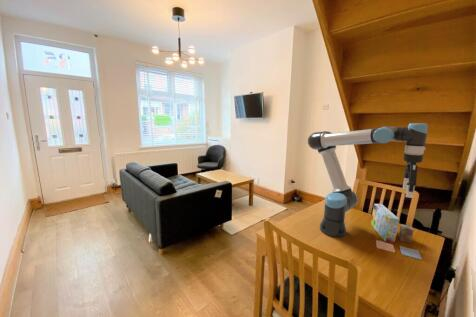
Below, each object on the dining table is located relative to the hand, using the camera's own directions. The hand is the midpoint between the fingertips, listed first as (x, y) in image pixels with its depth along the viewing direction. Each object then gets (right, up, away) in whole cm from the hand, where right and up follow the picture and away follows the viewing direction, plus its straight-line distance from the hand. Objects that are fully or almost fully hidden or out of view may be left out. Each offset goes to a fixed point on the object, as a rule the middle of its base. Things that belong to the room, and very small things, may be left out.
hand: (407, 193), depth 109 cm
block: (+8, -29, +12) cm, 33 cm away
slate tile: (+1, -32, 0) cm, 32 cm away
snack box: (0, -28, +19) cm, 34 cm away
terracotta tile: (-8, -30, +5) cm, 32 cm away
